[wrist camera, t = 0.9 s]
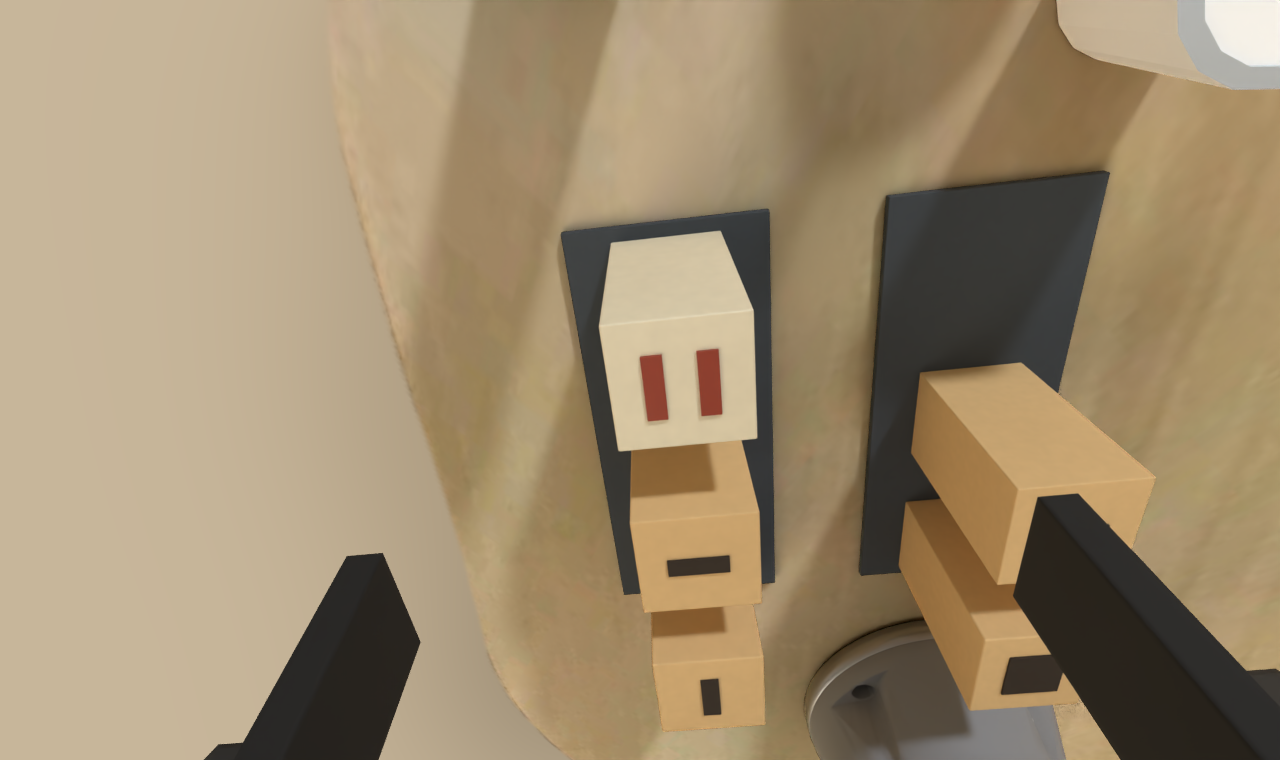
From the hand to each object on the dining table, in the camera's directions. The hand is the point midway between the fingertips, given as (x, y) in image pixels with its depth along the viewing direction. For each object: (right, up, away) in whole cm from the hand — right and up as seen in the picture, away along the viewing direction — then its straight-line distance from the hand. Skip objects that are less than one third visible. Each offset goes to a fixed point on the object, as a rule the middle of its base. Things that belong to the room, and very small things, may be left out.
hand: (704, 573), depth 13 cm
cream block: (0, +8, +15) cm, 17 cm away
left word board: (+1, +1, +19) cm, 20 cm away
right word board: (+15, +3, +19) cm, 24 cm away
